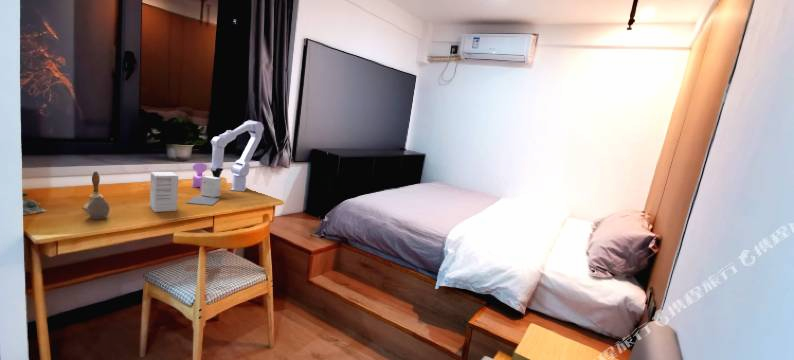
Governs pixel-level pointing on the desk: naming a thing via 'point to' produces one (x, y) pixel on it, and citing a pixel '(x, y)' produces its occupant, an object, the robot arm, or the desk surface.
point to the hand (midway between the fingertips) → (216, 180)
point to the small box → (211, 186)
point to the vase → (98, 208)
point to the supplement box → (163, 191)
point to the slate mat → (203, 200)
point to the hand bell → (95, 183)
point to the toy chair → (198, 174)
